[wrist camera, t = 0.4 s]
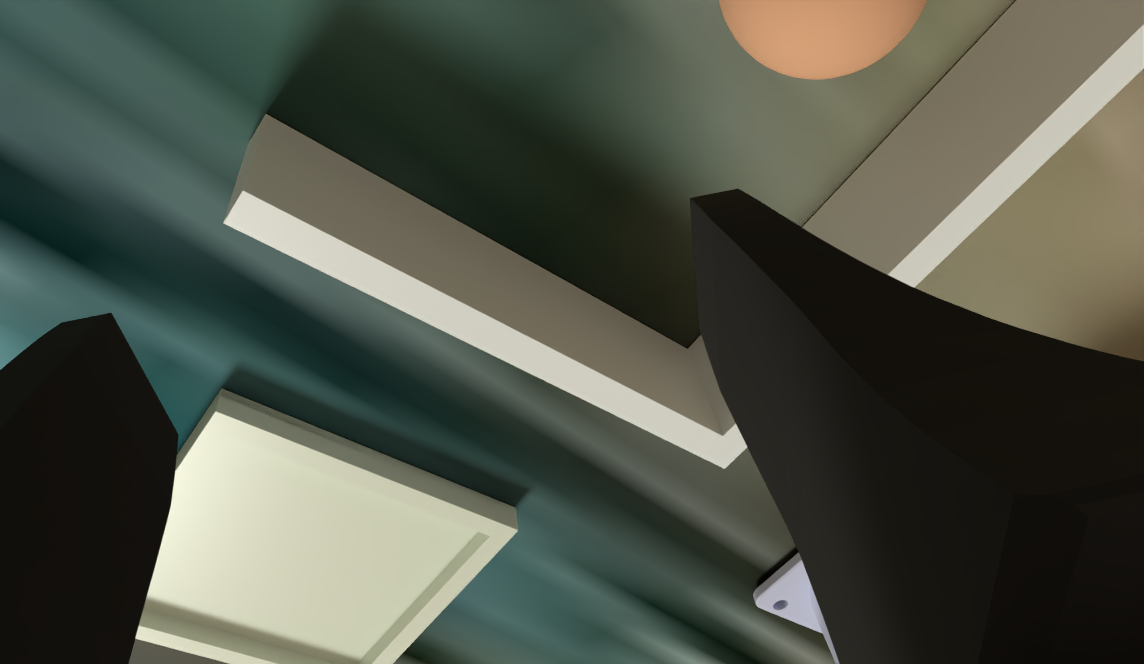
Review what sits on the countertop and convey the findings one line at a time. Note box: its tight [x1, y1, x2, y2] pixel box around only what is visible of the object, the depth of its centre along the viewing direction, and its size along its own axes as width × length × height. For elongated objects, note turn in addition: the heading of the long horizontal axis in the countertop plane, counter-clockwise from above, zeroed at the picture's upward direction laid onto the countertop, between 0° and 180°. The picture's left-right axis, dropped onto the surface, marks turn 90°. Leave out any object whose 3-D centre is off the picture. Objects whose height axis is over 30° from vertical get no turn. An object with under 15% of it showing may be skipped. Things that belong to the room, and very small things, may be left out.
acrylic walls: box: [224, 0, 1144, 469], centre depth 19 cm, size 13×14×4 cm
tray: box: [136, 388, 518, 664], centre depth 27 cm, size 9×9×1 cm
